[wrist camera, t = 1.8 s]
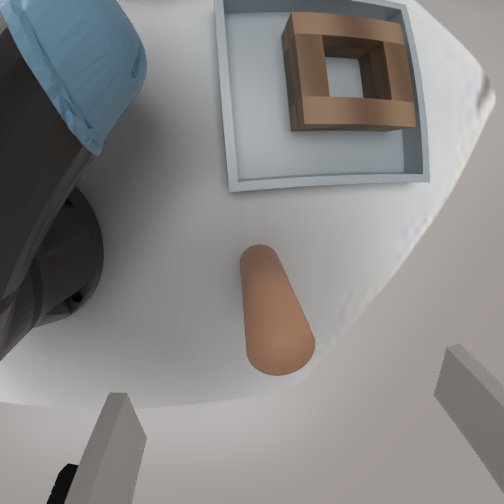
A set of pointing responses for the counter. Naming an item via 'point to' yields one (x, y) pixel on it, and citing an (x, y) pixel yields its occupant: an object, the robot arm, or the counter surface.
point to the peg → (272, 315)
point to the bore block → (371, 70)
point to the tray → (277, 111)
